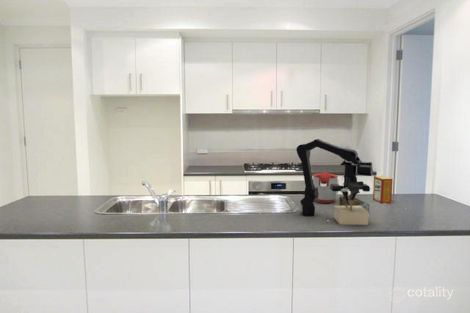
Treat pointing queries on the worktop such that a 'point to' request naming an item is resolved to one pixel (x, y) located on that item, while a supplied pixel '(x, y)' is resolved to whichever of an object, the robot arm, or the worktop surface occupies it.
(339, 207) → the cabinet door with handle
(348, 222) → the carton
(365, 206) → the beverage carton
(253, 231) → the worktop surface
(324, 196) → the citrus juicer
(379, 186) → the baking soda box
